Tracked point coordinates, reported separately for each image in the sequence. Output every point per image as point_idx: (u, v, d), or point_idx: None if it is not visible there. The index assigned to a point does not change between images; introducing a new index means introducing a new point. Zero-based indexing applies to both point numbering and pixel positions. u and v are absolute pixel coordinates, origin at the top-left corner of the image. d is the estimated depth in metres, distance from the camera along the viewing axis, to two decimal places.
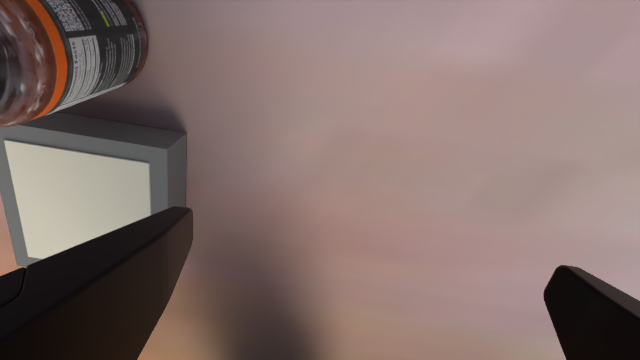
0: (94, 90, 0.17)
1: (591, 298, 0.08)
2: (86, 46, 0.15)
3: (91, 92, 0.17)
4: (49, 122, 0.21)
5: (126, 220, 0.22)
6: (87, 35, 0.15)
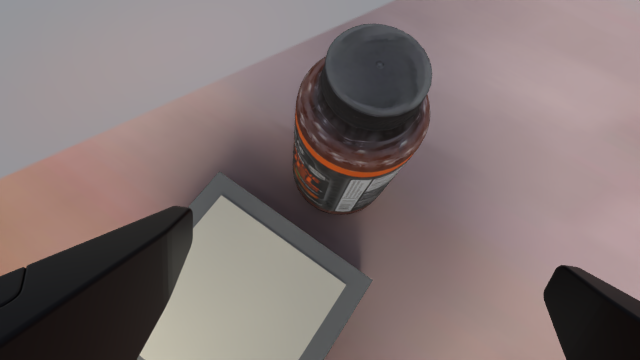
0: (368, 192, 0.18)
1: (591, 298, 0.08)
2: None
3: (367, 192, 0.18)
4: None
5: (274, 339, 0.17)
6: None
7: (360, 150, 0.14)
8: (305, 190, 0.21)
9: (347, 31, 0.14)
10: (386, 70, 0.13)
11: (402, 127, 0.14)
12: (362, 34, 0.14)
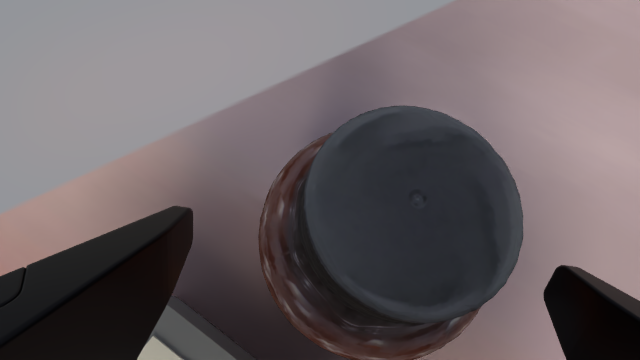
0: None
1: (591, 298, 0.08)
2: None
3: None
4: (219, 339, 0.14)
5: None
6: None
7: (373, 340, 0.08)
8: None
9: (350, 124, 0.07)
10: (431, 211, 0.06)
11: None
12: (380, 131, 0.07)
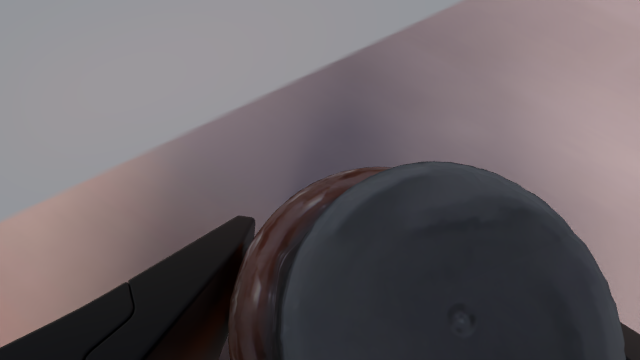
0: None
1: None
2: None
3: None
4: None
5: None
6: None
7: None
8: None
9: (354, 195, 0.04)
10: (485, 342, 0.04)
11: None
12: (400, 205, 0.04)
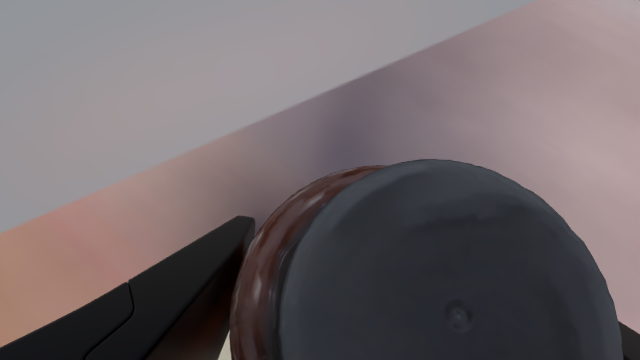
0: None
1: None
2: None
3: None
4: None
5: None
6: None
7: None
8: None
9: (352, 192, 0.04)
10: (482, 338, 0.04)
11: None
12: (398, 202, 0.04)
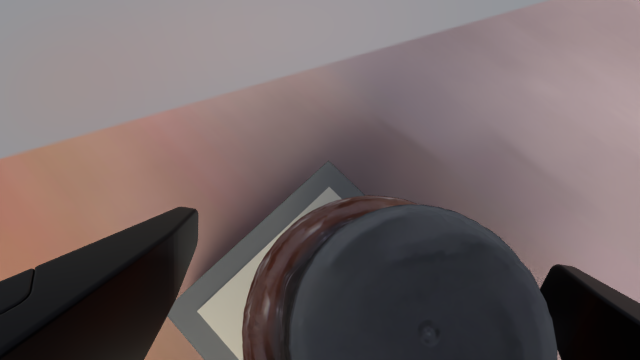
0: None
1: (585, 297, 0.08)
2: None
3: None
4: None
5: None
6: None
7: None
8: None
9: (345, 233, 0.06)
10: (447, 350, 0.05)
11: None
12: (382, 242, 0.06)
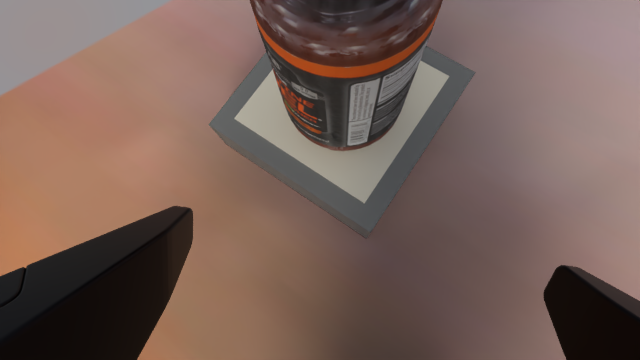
0: (382, 105, 0.14)
1: (591, 298, 0.08)
2: None
3: (380, 104, 0.13)
4: None
5: None
6: None
7: (350, 28, 0.10)
8: (304, 127, 0.16)
9: None
10: None
11: None
12: None
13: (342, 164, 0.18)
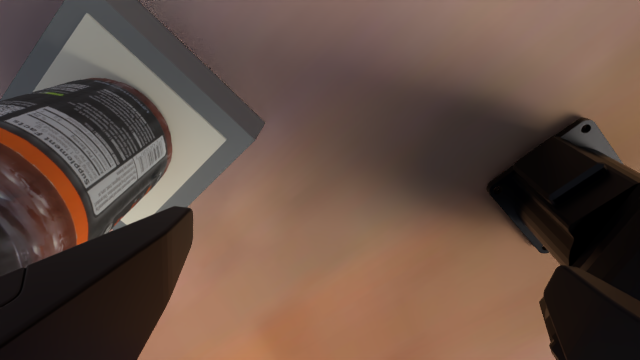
0: (119, 155, 0.14)
1: (591, 298, 0.08)
2: (40, 117, 0.12)
3: (118, 159, 0.14)
4: None
5: None
6: (33, 109, 0.12)
7: (34, 251, 0.10)
8: None
9: None
10: None
11: None
12: None
13: (186, 151, 0.19)
